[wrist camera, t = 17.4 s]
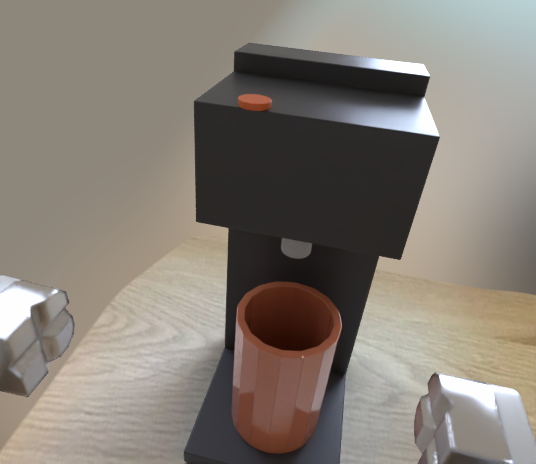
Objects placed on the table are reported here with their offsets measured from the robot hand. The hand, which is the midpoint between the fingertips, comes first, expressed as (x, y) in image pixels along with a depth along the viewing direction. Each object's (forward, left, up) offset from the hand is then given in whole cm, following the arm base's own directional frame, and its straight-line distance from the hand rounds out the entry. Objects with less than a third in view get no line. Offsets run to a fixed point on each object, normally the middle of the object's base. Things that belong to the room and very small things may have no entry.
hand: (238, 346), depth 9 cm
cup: (-2, +12, -20) cm, 23 cm away
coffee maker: (-2, +13, -21) cm, 25 cm away
